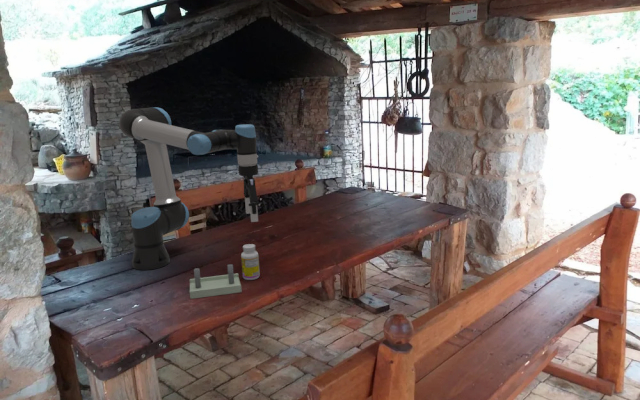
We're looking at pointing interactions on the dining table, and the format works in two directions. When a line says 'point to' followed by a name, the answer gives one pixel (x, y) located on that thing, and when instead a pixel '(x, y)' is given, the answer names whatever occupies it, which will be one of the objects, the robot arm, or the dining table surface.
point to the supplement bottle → (250, 262)
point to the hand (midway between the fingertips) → (251, 217)
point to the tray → (214, 284)
